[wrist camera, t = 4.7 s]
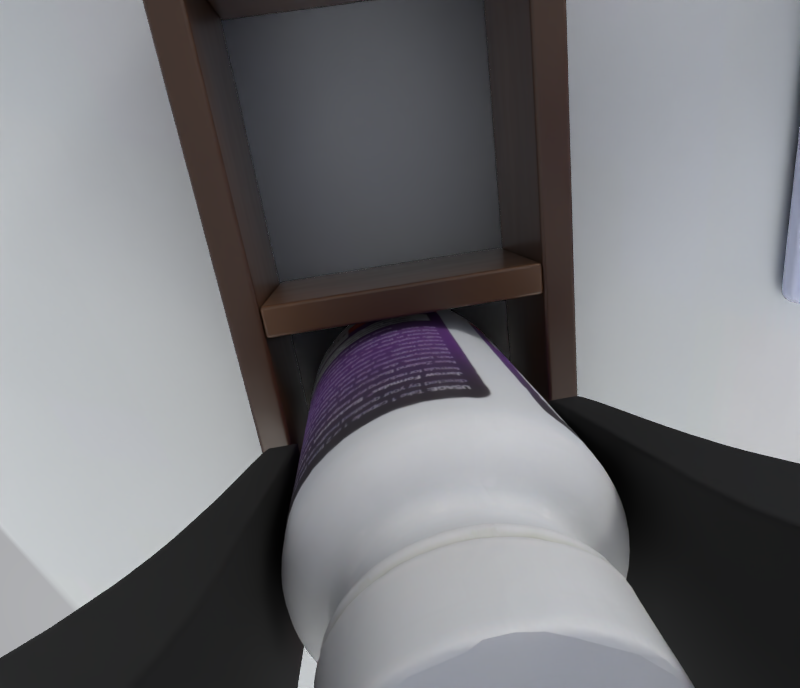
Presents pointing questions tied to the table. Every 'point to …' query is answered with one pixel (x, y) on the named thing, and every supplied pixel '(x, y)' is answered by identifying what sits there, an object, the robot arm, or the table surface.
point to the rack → (398, 283)
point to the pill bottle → (456, 526)
